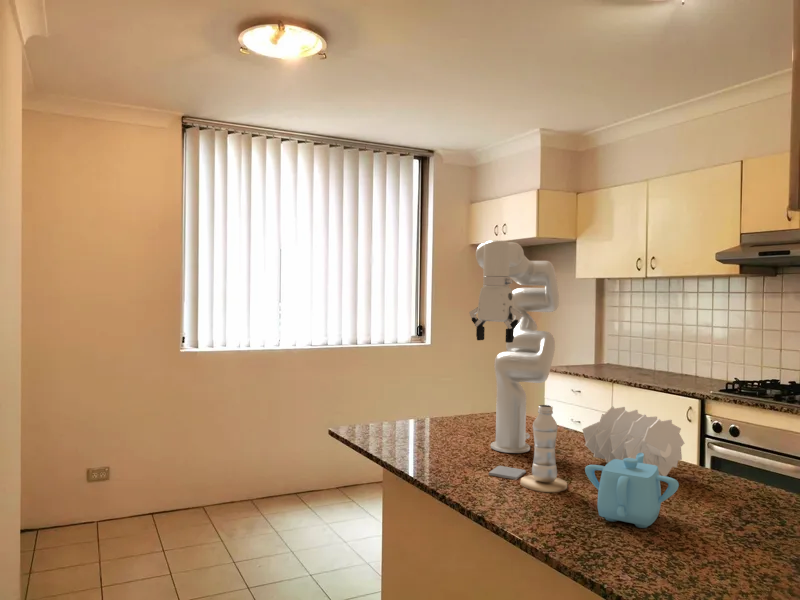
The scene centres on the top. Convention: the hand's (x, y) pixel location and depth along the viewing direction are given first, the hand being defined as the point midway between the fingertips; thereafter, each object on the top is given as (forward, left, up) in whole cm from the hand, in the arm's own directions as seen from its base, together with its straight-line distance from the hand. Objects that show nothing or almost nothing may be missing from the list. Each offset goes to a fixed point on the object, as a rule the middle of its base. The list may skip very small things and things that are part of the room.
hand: (494, 341), depth 178 cm
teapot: (+14, +45, -36) cm, 60 cm away
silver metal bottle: (+7, +20, -36) cm, 41 cm away
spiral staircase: (-23, +33, -37) cm, 54 cm away
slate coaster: (+5, +8, -36) cm, 38 cm away
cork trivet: (+7, +20, -36) cm, 42 cm away
